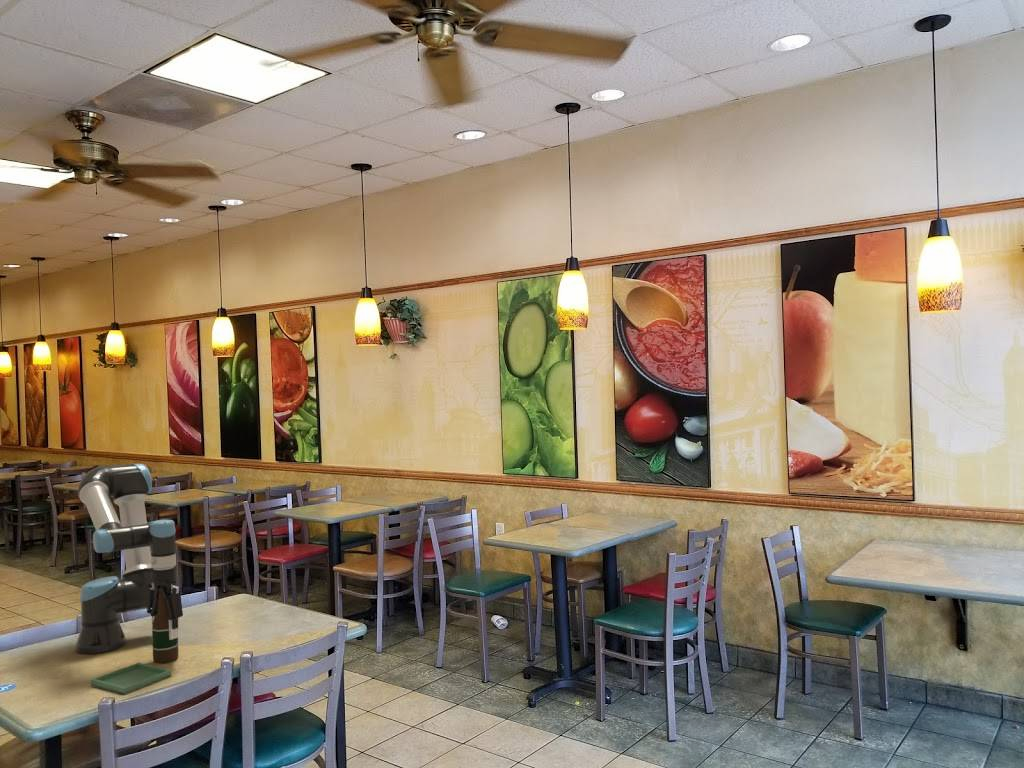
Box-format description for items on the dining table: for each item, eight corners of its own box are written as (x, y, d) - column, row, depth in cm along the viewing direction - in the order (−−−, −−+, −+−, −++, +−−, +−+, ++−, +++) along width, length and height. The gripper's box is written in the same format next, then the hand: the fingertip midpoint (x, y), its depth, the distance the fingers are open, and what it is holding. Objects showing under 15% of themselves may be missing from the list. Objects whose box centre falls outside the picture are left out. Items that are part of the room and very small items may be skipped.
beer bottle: (168, 664, 252) (166, 590, 252) (147, 663, 253) (145, 590, 253) (183, 656, 260) (181, 584, 260) (163, 655, 261) (161, 584, 261)
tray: (90, 685, 235) (90, 679, 235) (138, 668, 249) (138, 662, 249) (124, 694, 228) (124, 688, 228) (171, 676, 242) (171, 670, 242)
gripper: (133, 567, 258) (135, 636, 258) (174, 572, 248) (176, 644, 248) (153, 562, 265) (155, 629, 265) (194, 567, 255) (195, 637, 255)
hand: (165, 636), depth 257 cm, fingers closed on beer bottle, 7 cm apart
